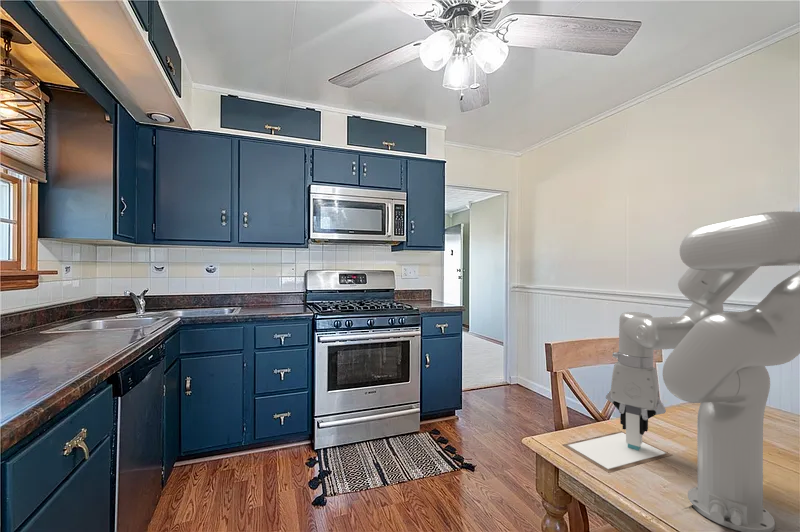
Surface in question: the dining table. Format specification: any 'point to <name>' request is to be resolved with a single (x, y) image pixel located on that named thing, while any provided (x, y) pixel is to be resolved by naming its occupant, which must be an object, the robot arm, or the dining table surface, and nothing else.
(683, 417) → the dining table surface
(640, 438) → the grey square bar
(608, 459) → the paper
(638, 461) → the board
